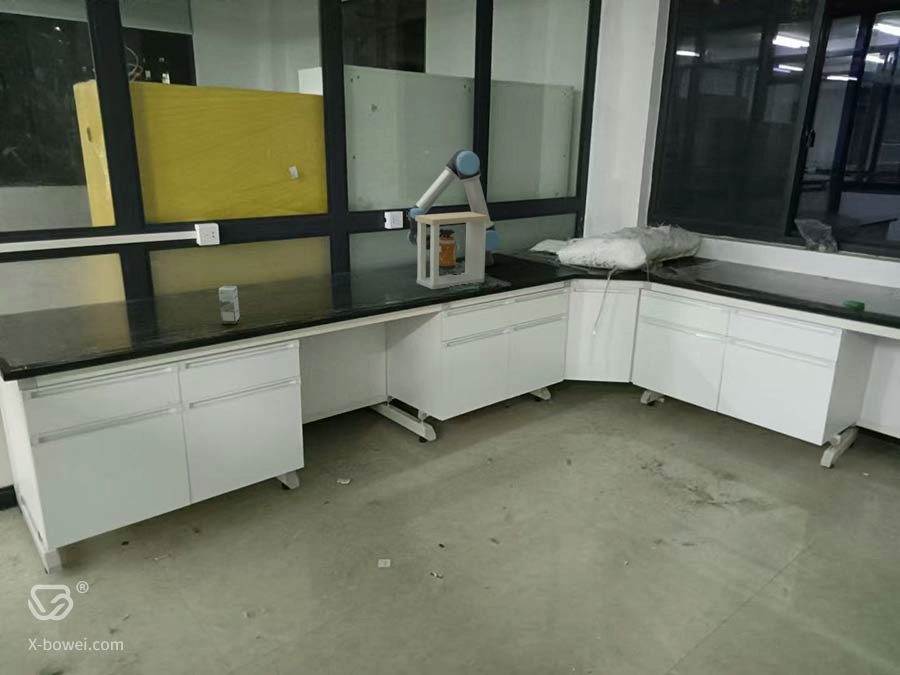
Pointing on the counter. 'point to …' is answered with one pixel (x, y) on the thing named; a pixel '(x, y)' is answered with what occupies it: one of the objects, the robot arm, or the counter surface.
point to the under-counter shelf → (472, 255)
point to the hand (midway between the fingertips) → (449, 248)
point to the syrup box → (229, 303)
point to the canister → (447, 250)
